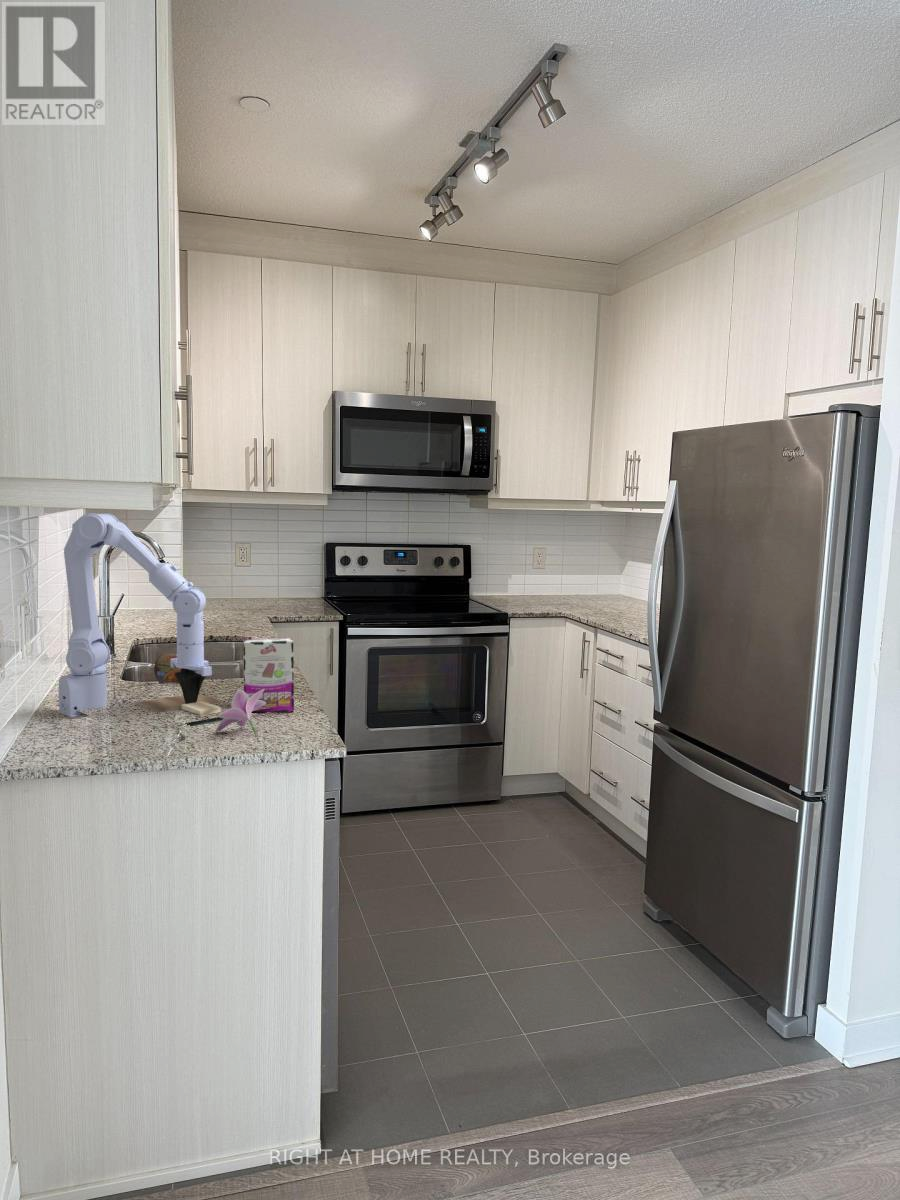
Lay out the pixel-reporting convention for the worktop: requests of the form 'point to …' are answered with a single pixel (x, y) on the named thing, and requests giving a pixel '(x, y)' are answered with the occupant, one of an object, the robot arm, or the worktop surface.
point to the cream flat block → (201, 708)
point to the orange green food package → (165, 669)
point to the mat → (205, 721)
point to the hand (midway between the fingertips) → (191, 703)
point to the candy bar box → (270, 672)
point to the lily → (240, 709)
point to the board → (173, 703)
